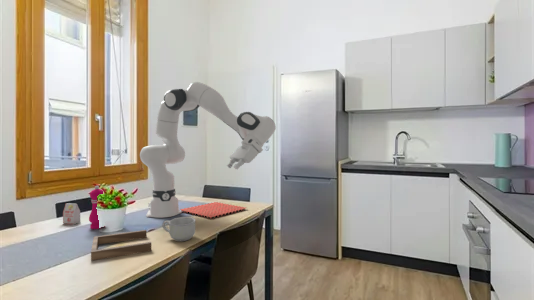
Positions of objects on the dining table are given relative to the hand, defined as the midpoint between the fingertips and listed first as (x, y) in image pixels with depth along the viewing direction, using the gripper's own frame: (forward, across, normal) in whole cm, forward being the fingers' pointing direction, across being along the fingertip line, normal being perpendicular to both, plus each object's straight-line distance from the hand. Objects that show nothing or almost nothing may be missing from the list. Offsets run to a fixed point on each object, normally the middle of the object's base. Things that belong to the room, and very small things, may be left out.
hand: (231, 167), depth 136 cm
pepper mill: (+59, -35, -20) cm, 72 cm away
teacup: (+37, 0, +3) cm, 37 cm away
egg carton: (+18, -43, +22) cm, 52 cm away
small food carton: (+67, -50, -30) cm, 89 cm away
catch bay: (+52, 0, -12) cm, 53 cm away
